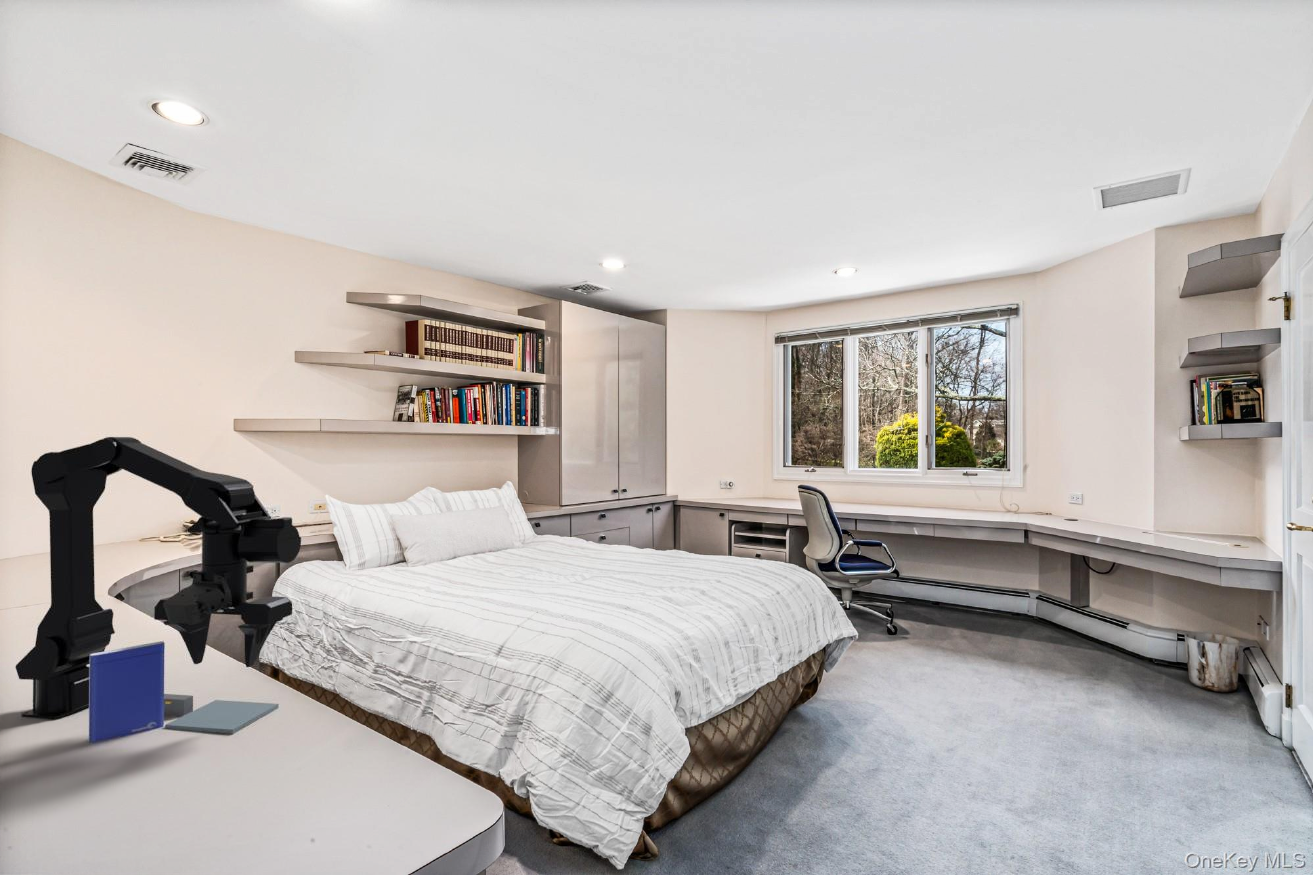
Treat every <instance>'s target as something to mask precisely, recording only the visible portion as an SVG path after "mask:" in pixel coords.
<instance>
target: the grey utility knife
mask: <svg viewBox="0 0 1313 875" xmlns="http://www.w3.org/2000/svg"><path fill="white" fill-rule="evenodd" d="M192 711H194V695H191V694H190V695H189V694H188V695H187V694H174V693H173V694H172V693H164V716H165V715H166V716H167V715H168V716H177V717H178V716H179V717H182V716H184V715H186V714H188V713H190V712H192Z"/></svg>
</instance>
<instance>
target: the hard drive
mask: <svg viewBox="0 0 1313 875" xmlns="http://www.w3.org/2000/svg"><path fill="white" fill-rule="evenodd" d="M165 645H166V644H165V641H164V640H162V641H157V642H150V643H145V644H144V643H143V644H139V645H133V646H127V647H121V648H116V649H115V648H114V649H110V650H104V652H98V653H93V654H90V664H88V665H89V666H88V667H89V707H88V743H96V742H98V743H99V742H102V741H106V740H110V739H115V738H119V737H124V736H129V735H133V734H137V733H142V732H147V731H151V730H156V729H160V728H163V727H165V725H164V724H165V721H164V720H165V714H164V694H165V647H166V646H165Z"/></svg>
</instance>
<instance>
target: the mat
mask: <svg viewBox="0 0 1313 875" xmlns="http://www.w3.org/2000/svg"><path fill="white" fill-rule="evenodd" d="M277 709H279V703H271V702H269V703H268V702H257V701H256V702H255V701H253V702H252V701H240V700H239V701H237V700H222V699H221V700H220V699H215V700H213V701H211V702H209V703H207V704H205V705H202V706H201V707H199V708H196V709H193V711H192V712H190V713H188V714H186V715H184V716H179V718H176V719H174V720H171V721H170V722H167V723H166V724H165V725H164V729H171V730H172V729H173V730H181V729H184V730H185V731H192V732H202V731H209V732H208V733H215V732H220V733H219V734H232V735H233V734H235V733H237V732H239V731H240V730H242V729H244V728H245V727H248V726H249V725H251V724H252V723H254V722H257V721H258V720H259V719H262V718H263V717H265V716H267V715H268V714H270V713H273V711H275V710H277ZM184 730H183V731H184Z"/></svg>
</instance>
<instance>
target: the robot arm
mask: <svg viewBox="0 0 1313 875" xmlns="http://www.w3.org/2000/svg"><path fill="white" fill-rule="evenodd" d="M122 470H123V471H125V472H128V473H130V474H132V475H135V476H137V477H138V478H142V479H144V480H146V481H148V482H150V483H153V484H154V485H157V486H159V487H161V488H163V489H166V490H167V491H170V492H172V493H173V494H176V495H177V496H179V497H180V498H181V501H182V502H183V504H184V505H185V507H187V508H188V509H190V510H191V511H192V512H194V513H196V514H197V515H199V516H200V517H199V518H198V519H197V521H196V522H194V523H193V524H191V525H190V526H189V527H188V528H187V529H186V530H187V533H188V534H201V570H197V571H194V575H193V576H192V583H191V585H189V586H187V587H184V588H182V589H181V590H179V591H178V592H176V593H175V594H173V595H172V596H169V597H165V598H162V599H159V600H158V602H157V603H156V605H155V606H154V610H153V611H154V613H153V616H154V620H155V621H156V620H157V621H160V620H161V621H163V625H164V626H169V627H171V628H172V629H174V630H176V631H178V633H179V635H180V636H181V638H182V640H183V642H184V645H185V646H186V649H187V651H188V654H189V655H190V658H191V660H192V662H193V665H199V664H201V663H202V662H203V660H204V656H205V652H206V649H207V648H206V647H207V641H208V634H209V631H210V630H209V629H210V626H211V625H210V624H211V619H212V615H229V616H231V615H232V616H240V619H241V620H242V621H243V624H240V625H238V626H237V627H238V629H239V630H240V631H241V632H242V633H243V634H244V661H245V662H244V664H245V667H246V668H250V667H252V666H254V664H255V663H256V661H257V659H258V658H259V655H260V652H261V651H262V649H263V648H264V647H263V646H264V645H265V642H266V641H267V639H268V637H269V635H270V634H271V632H272V631H273V629H274V628H275V625H276V624H277V623H278V622H281V621H283V619H285V618H287V617H289V616H292V615H293V601H292V600H291V599H290V598H289V597H288V596H272V595H270V596H265V597H262V598H258V599H255V600H252V599H254V591H248V574H250V573H253V572H254V564H253V565H249V564H248V563H258V564H259V563H262V564H263V563H265V564H270V563H271V564H272V563H273V564H274V563H276V564H284V563H285V564H289V563H292V562H294V560H296V558H297V557H298V555H299V552H300V549H301V546H302V537H301V536H300V533H299V531H298V528H296V526H295V525H293V518H292V517H291V516H290V517H289V516H288V517H287V516H284V517H278V518H276V517H275V518H272V516H271V515H270V513H269V512H268V511H267V509H266V508H265V506H264V505H263V503H262V502H261V501H260V499H259V498H258V497H257V495H256V493H255V490H254V485H253V484H252V483H251V482H250V481H248V480H247V479H244V478H241V477H237V476H232V475H229V474H223V473H216V472H211V471H205V470H202V469H200V468H197V467H195V466H193V465H191V464H189V463H186V462H184V461H182V460H180V459H177V458H175V457H173V456H172V455H168V454H166V453H164V452H162V451H159V450H158V449H156V448H153V447H151V446H148V445H147V444H144V443H142V441H140V440H139V439H136V438H135V437H131V436H107V437H104V438H101V439H98V440H96V441H93V442H91V443H88V444H85V445H80V446H76V447H72V448H69V449H65V450H62V451H51V452H45V453H44V454H42V455H41V456H39V457H38V458H37V459H36V460H35V461H33V463H32V466H31V472H30V473H31V477H32V478H31V479H32V483H33V489H34V494H35V496H36V497H37V498H38V499H39V500H40V502H41V503H42V504H43V505H44V507H45V508H47V511H48V514H49V515H48V516H49V550H50V551H49V562H50V564H49V565H50V567H49V568H50V602H51V603H50V607H49V608H48V610H47V612H46V613H45V615H44V616H43V618H42V619H41V621H40V623H39V624H38V626H37V632H36V637H35V638H36V639H35V645H34V646H33V647H32V649H31V650H29V651H28V653H26V654H25V655H24V657H23V658H22V659H21V660H20V661H18V663H17V664H16V665H15V670H16V673H17V676H18V679H19V680H27V681H28V680H30V681H32V708H31V709H29V710H26V711H24V712H21V716H20V717H21V718H32V719H33V718H34V719H45V720H46V719H48V720H49V719H50V720H58V719H62V718H63V717H66V716H68V715H71V714H74V713H77V712H79V711H82V710H84V709H86V708H89V666H88V665H90V654H93V653H98V652H104V651H106V647H107V646H109V645H110V643H111V639H112V635H115V633H116V632H115V631H116V630H115V629H114V624H113V619H114V611H113V609H112V608H107V609H106V608H105V609H104V608H103V606H102V605H100V603H99V602H98V601H97V600H96V592H95V590H96V589H95V588H96V586H95V546H94V544H95V541H94V507H95V505H96V504H97V503H98V501H99V499H100V498H101V497H102V495H103V493H104V492H105V490H106V484H107V480H108V479H107V477H108V476H112V475H113V474H116V473H118V472H120V471H122ZM250 600H252V601H250ZM248 601H249V602H248Z"/></svg>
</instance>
